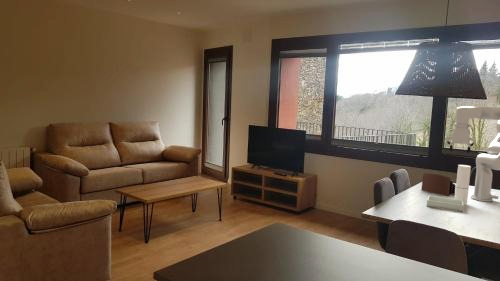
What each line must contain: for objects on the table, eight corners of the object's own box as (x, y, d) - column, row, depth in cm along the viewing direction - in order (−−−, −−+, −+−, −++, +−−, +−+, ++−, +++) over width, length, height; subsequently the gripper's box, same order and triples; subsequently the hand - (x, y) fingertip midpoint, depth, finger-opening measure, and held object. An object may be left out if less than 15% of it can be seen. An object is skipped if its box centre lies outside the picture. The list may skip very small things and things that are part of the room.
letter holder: (448, 196, 262) (450, 177, 260) (420, 190, 278) (422, 171, 276) (455, 195, 268) (457, 175, 266) (427, 189, 284) (429, 170, 282)
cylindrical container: (466, 203, 246) (470, 165, 244) (467, 205, 240) (471, 167, 237) (453, 201, 249) (457, 164, 247) (454, 204, 243) (458, 166, 240)
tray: (462, 206, 238) (463, 200, 238) (463, 211, 226) (463, 205, 225) (427, 201, 247) (428, 195, 247) (426, 206, 235) (427, 200, 235)
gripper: (477, 126, 241) (475, 152, 244) (447, 125, 252) (446, 150, 254) (476, 127, 235) (474, 154, 238) (445, 125, 246) (444, 151, 248)
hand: (459, 152), depth 246 cm, fingers open, 9 cm apart
